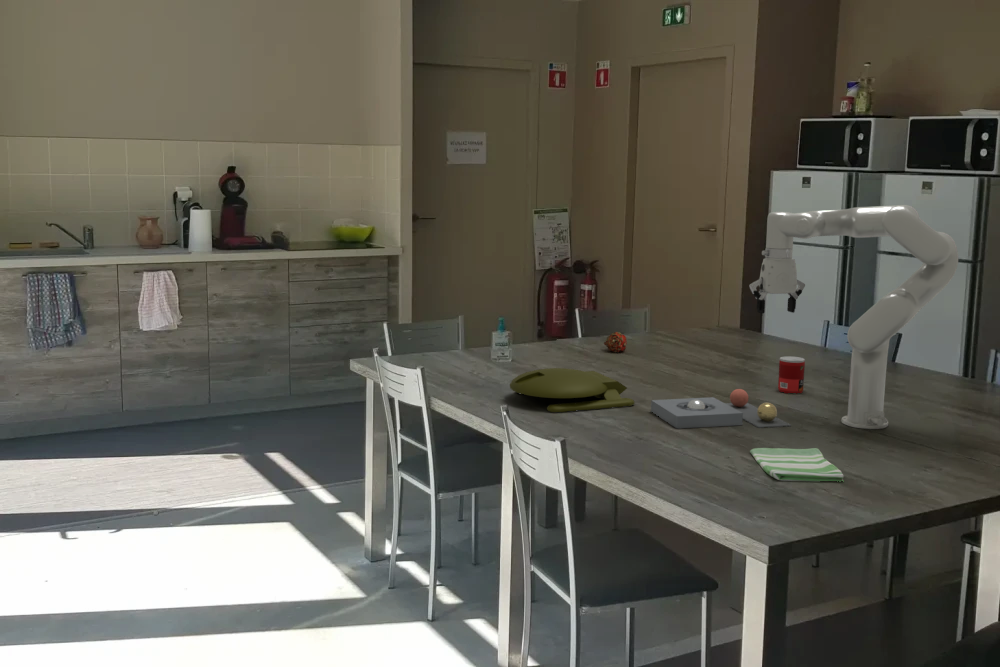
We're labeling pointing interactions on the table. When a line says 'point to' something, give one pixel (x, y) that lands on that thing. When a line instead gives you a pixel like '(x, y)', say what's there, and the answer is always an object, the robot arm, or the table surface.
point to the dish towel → (796, 464)
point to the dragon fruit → (616, 342)
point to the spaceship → (571, 388)
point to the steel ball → (696, 404)
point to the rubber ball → (739, 397)
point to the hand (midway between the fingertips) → (775, 312)
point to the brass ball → (767, 412)
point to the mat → (752, 417)
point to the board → (696, 413)
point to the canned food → (791, 374)
